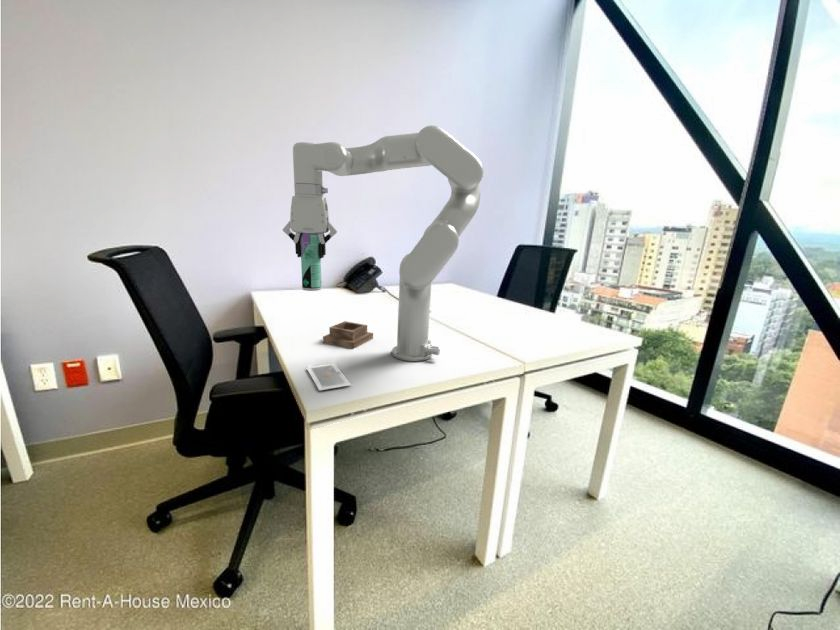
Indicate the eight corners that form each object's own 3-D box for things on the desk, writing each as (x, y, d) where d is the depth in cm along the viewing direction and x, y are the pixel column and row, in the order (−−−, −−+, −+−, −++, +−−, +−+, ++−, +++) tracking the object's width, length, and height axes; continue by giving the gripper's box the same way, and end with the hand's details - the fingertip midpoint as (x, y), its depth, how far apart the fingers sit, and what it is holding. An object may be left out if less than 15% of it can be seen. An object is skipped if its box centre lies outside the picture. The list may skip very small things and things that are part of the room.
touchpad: (319, 394, 89) (319, 386, 88) (306, 371, 102) (305, 363, 101) (351, 388, 93) (351, 380, 92) (334, 366, 105) (334, 359, 105)
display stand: (373, 338, 130) (373, 324, 128) (354, 348, 119) (354, 333, 118) (343, 332, 134) (343, 319, 133) (323, 342, 123) (322, 327, 122)
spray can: (315, 286, 114) (313, 219, 109) (325, 289, 111) (323, 220, 106) (298, 288, 111) (296, 219, 106) (308, 291, 107) (305, 219, 102)
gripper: (342, 193, 108) (342, 257, 112) (281, 191, 107) (285, 254, 112) (337, 192, 100) (338, 259, 105) (272, 189, 100) (276, 257, 104)
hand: (310, 256), depth 108 cm, fingers closed on spray can, 5 cm apart
